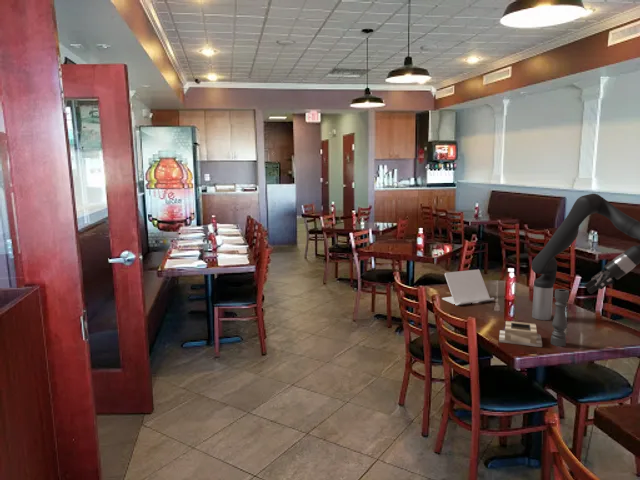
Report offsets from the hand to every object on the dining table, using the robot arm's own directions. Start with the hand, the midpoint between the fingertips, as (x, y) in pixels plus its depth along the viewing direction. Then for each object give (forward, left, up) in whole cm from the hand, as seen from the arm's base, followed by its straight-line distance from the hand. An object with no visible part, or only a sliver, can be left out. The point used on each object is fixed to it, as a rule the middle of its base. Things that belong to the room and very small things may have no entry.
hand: (587, 289), depth 209 cm
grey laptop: (-58, -54, -27) cm, 84 cm away
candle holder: (0, -10, -26) cm, 28 cm away
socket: (0, -26, -26) cm, 37 cm away
